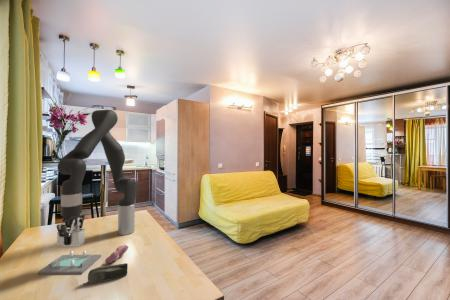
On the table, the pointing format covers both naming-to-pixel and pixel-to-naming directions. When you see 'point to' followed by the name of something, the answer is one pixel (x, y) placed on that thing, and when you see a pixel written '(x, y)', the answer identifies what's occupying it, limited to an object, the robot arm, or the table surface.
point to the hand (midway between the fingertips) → (71, 242)
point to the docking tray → (70, 264)
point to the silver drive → (73, 238)
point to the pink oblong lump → (116, 254)
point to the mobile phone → (107, 273)
